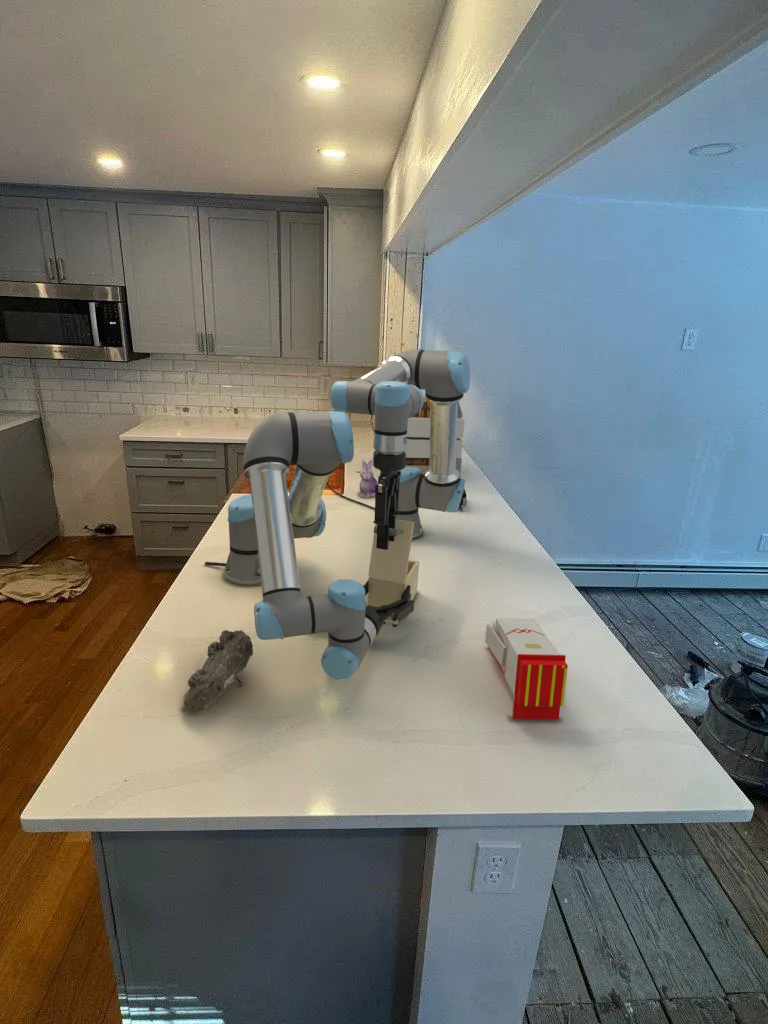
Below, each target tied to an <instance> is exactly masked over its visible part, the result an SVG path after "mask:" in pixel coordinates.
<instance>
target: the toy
mask: <svg viewBox="0 0 768 1024" xmlns="http://www.w3.org/2000/svg"><path fill="white" fill-rule="evenodd" d="M484 642H485V643H486V645H487V646H488V650H489V651H490V654H491V655H492V657H493V659H494V660H495V662H496V664H497V666H498V667H499V669H500V671H501V672H502V675H503V676H504V678H505V680H506V682H507V684H508V686H509V688H510V691H511V693H512V694H513V704H512V705H513V706H512V715H511V717H512V719H513V720H560V714H561V708H563V707H564V704H565V695H566V685H567V677H568V668H569V666H568V663H567V662H566V657H567V656H566V654H560V653H559V651H558V650H557V648H556V647H555V646H554V645H553V643H552V642H551V640H550V639H549V638H548V636H547V635H546V634H545V632H544V631H543V629H542V628H541V627H540V625H539V623H537V621H536V620H535V619H534V618H523V617H522V618H521V617H520V618H519V617H516V618H515V617H496V618H495V620H492V622H491V624H490V623H486V629H485V637H484Z"/></svg>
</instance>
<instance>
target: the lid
mask: <svg viewBox="0 0 768 1024" xmlns="http://www.w3.org/2000/svg"><path fill="white" fill-rule="evenodd" d="M413 527H414V522H411V521H404V520H397V519H395V529H392V528H389V535H390V536H395V538H394V542H393V541H388V550H384V549H378V548H376V544H377V524H375V523H374V527H373V539H372V546H371V553H370V559H369V560H370V561H369V567H368V577H370V576H372V577H378V578H383V579H389V580H395V581H400V582H406V577H407V570H408V563H409V560H410V555H411V547H412V541H413V539H412V534H413Z"/></svg>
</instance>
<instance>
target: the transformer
mask: <svg viewBox="0 0 768 1024" xmlns="http://www.w3.org/2000/svg"><path fill="white" fill-rule="evenodd" d="M423 397H424V403H423V406H422V408H421V410H420V411H419V412H418V413H417V414H416V415H415V416H413V417H410V418H408V425H407V436H406V438H408V439H409V442H408V443H406V450H405V451H404V452H405V453H406V463H405V466H406V467H417V466H418V467H430V401H429V400H428V399H427V398H426V397H425V396H423ZM464 429H465V419H464V418H463V411H462V408H461V405H460V401H459V402H458V419H457V444H456V469H457V470H458V471H459V473H460V475H461V472H462V461H463V460H462V453H463V442H464V441H463V440H462V439H463V438H464V431H465V430H464Z"/></svg>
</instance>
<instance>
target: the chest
mask: <svg viewBox="0 0 768 1024" xmlns="http://www.w3.org/2000/svg"><path fill="white" fill-rule="evenodd" d="M419 568H420V561H419V560H414V559H409V563H408V570H407V577H406V582H400V581H395V580H389V579H383V578H378V577H372V576H368V579H369V585H368V594H367V606H368V605H370V606H373V607H380V606H383V605H386V606H387V605H389V604H391V603H394V602H396V601H398V600H401V596H402V594H403V592H404V591H405V589H406V588H407V586H408V585H410V586H411V588H410V594H411V600H413V601H414V598H415V597H416V595H417V593H418V584H419V570H420V569H419Z"/></svg>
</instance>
